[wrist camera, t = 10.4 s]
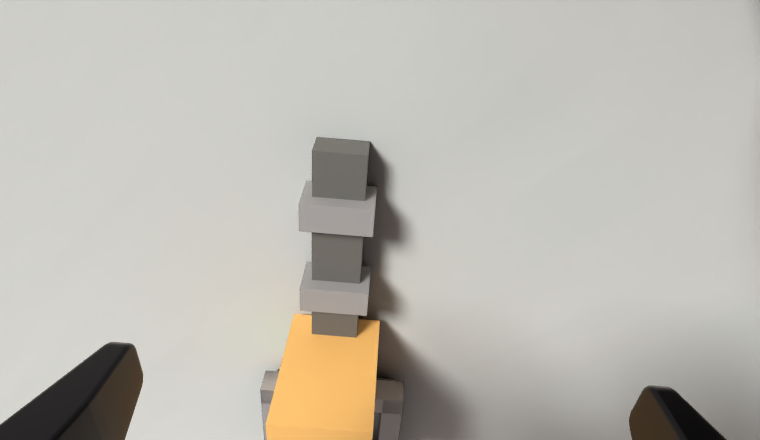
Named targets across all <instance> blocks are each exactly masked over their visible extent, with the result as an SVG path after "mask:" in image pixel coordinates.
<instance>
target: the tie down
mask: <svg viewBox="0 0 760 440" xmlns="http://www.w3.org/2000/svg"><path fill="white" fill-rule="evenodd" d="M369 147H370V141H358V140H346V139H333V138H321V137H317V138H316V141H315V144H314V147H313V150H312V181H306V183H305V186H304V190H303V193H302V196H301V199H300V202H299V231H302V232H312V262H307V263H306V267H305V270H304V274H303V278H302V282H301V286H300V311H312V315H301V314H294V316H293V320H292V324H291V328H290V332H289V336H288V340H287V343H286V347H285V351H284V355H283V359H282V363H281V367H280V371H279V372H277V371H266V372H265V375H264V379H263V382H262V386H261V389H260V391H261V404H262V418H263V431H264V440H372V437H373V424H374V412H377V413H381V414H380V423H379V432H378V440H398V438H399V431H400V424H401V417H402V410H403V403H404V382H401V381H388V380H376V375H377V358H378V342H379V325H380V321H375V320H363V319H358V317H359V315H361V316H367V308H368V297H369V286H370V273H371V267H365V266H362V255H363V240H364V237H373V230H374V219H375V208H376V195H377V187H376V186H367V178H368V163H369Z"/></svg>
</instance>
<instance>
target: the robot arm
mask: <svg viewBox="0 0 760 440" xmlns="http://www.w3.org/2000/svg"><path fill="white" fill-rule="evenodd" d="M142 383H143V372H142V368H141V365H140V361H139V358H138V354H137V351H136V348H135V346H134V345H133V344H130V343H120V342H110V343H108V344H106V345H104V346H103V347H101V348H100V349H99V350H97V351H96V352H95V353H93V354H92V355H91V356H90V357H88V358H87V359H86V360H84V361H83V362H82V363H80V364H79V365H78V366H76V367H75V368H74V369H72V370H71V371H70V372H69V373H67V374H66V375H65V376H63V377H62V378H61V379H59V380H58V381H57V382H55V383H54V384H53V385H52V386H50V387H49V388H48V389H46V390H45V391H44V392H42V393H41V394H40V395H38V396H37V397H36V398H34V399H33V400H32V401H31V402H29V403H28V404H27V405H25V406H24V407H23V408H21V409H20V410H19V411H17V412H16V413H15V414H13V415H12V416H11V417H10V418H8V419H7V420H6V421H4V422H3V423H2V424H0V440H125V437H126V434H127V431H128V428H129V425H130V422H131V419H132V416H133V412H134V409H135V406H136V403H137V400H138V397H139V394H140V391H141V388H142ZM629 426H630V431H631V437H632V440H726V439H725V438H724V437H723V436H722V435H721V434H720V433H719V432H718V431H717V430H716V429H715V428H714V427H713V426H712V425H711V424H710V423H709V422H708V421H706V420H705V419H704V418H703V417H702V416H701V415H700V414H699V413H698V412H697V411H696V410H695V409H694V408H693V407H692V406H691V405H690V404H689V403H688V402H687V401H686V400H685V399H683V398H682V397H681V396H680V395H679V394H678V393H677V392H676V391H675V390H673V389H672V388H669V387H663V386H647V387H645V388H644V389H643V391H642V393H641V395H640V397H639V398H638V400H637V402H636V404H635V406H634V407H633V409H632V411H631V413H630V418H629Z"/></svg>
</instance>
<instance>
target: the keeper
mask: <svg viewBox="0 0 760 440" xmlns="http://www.w3.org/2000/svg"><path fill="white" fill-rule="evenodd" d="M279 371H280V369H278V372H279ZM376 380H388V381H393V379H391V378H379V377H376ZM380 414H381V413H377V412H374V424H373V437H372V440H378V432H379V423H380Z"/></svg>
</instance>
